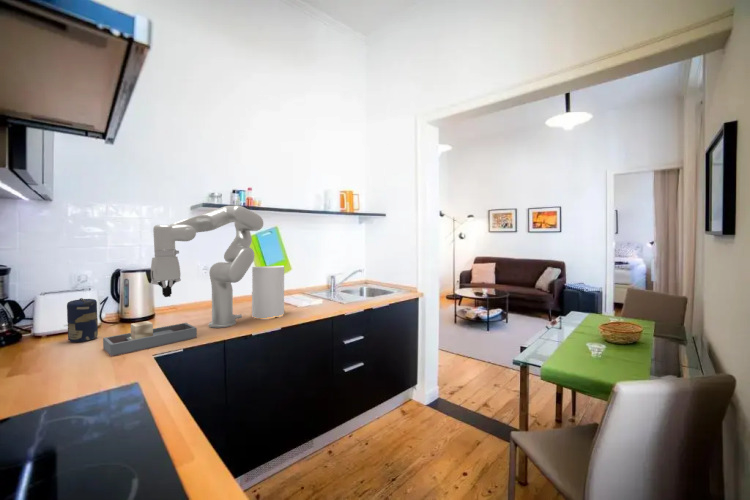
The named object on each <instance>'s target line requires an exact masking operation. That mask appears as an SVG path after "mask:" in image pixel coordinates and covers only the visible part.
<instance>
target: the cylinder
mask: <svg viewBox="0 0 750 500" xmlns="http://www.w3.org/2000/svg"><path fill="white" fill-rule="evenodd" d="M251 268H252V269H251V270H252V272H251V273H252V278H251V279H252V282H251V283H252V285H251V286H252V287H251V288H252V291H251V317H252V316H253V317H256V318H267V317H273V316H279V315H282V314H284V315H285V265H271V266H269V265H268V266H267V265H265V266H252V267H251ZM253 317H252V318H253Z"/></svg>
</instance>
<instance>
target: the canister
mask: <svg viewBox="0 0 750 500" xmlns="http://www.w3.org/2000/svg"><path fill="white" fill-rule="evenodd" d="M66 313H67V315H66V316H67V317H66V319H67V320H66V321H67V339H68V341H69V342H70V343H71V342H72V343H80V342H86V341H91V340H93V339H95V338H97V337H98V335H99V329H98V328H99V321H98V301H97V300H96V299H93V298H83V297H81V298H79V299H75V300H70V301H68V302H67V304H66Z"/></svg>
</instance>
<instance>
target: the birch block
mask: <svg viewBox="0 0 750 500" xmlns="http://www.w3.org/2000/svg"><path fill="white" fill-rule="evenodd" d="M153 329H154V323H153V322H151V321H149V320H146V321H139V322H135V323H134V322H133V323H130V333H131V339H133V340H134V339H139V338H144V337H149V336H153Z"/></svg>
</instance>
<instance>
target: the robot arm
mask: <svg viewBox="0 0 750 500" xmlns="http://www.w3.org/2000/svg"><path fill="white" fill-rule="evenodd" d="M232 223H234V228H235V237H234V239H233V241H232V242H231V243H230V245H228V247H227V249H226V250H225V252H224V254H223V259H224V260H225V262H222V261H220V262H219V261H218V262H216V263H213V265H211V266H210V269H209V279H210V283H211V284H210V285H211V321H210V322H209V323H208V327H209V328H213V329H223V328H229V327H232V325H233V326H234V325H236V324H237V320H239V319H242V318H243V315H242V314H241V313H240V314H234V310H233V309H234V307H233V302H234V299H233V296H234V295H233V292H234V291H233V285H232V284H233V283H239V282H240V281H241V280H242V279H243V278H244V277H245V275H246V274H247V272H248V270H250V267H251V266H252V264H253V262H254V259H255V252H254V249H253V248H252V247H250V246H251V244H252V240H253V239H252V233H251V232H258V231H261V229H262V228H263V227H264V219H263V218H262V216H260V215H259V214H257V213H255V212H253V211H252V210H251V209H248V208H246V207H244V206H242V205H238V204H237V205H225V206H222V207H220V208H217V209H214V210H211V211H208V212H206V213H203V214H198V215H195V216H192V217H188V218H185V219H182V220H179V221H177V222H173V223H171V224H157V225H154V226H153V230H152V232H153V246H154V251H153V252H154V256H153V257H151V265H150V279H151V284H152V285H155V286H156V285H158V286H159V287H160V288H162V289H161V292H162V296H163V297H164V298H168V297H169V298H171V297H172V295H173V294H172V293H173V292H172V287H173V286H174V285H175V283H179V282H181V280H182V279H181V268H180V267H181V266H180V262H179V259H178V256H177V255H178V254H180V250H176V242H190V241H192V240H194V239H195V238H196V236H197V233H203V232H206V233H207V232H210V231H214V230H217V229H218V228H221V227H223V226H226V225H229V224H232ZM166 281H167V284H166Z"/></svg>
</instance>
